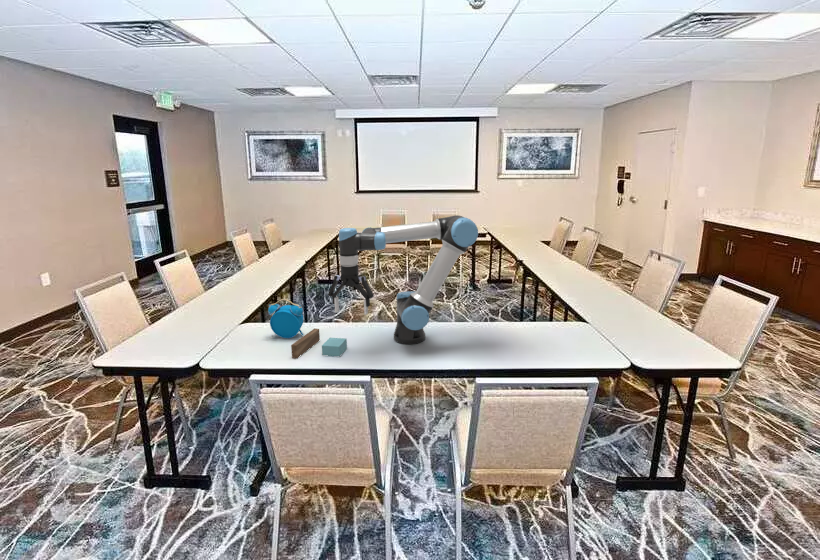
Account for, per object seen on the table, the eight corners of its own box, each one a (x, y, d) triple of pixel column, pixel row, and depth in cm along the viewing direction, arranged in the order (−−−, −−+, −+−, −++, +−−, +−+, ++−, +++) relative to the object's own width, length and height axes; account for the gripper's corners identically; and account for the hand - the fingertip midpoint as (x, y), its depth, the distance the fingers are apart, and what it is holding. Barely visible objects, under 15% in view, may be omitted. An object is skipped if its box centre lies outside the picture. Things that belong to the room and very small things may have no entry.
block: (347, 348, 215) (346, 338, 214) (339, 357, 206) (339, 346, 205) (330, 347, 217) (329, 337, 216) (322, 356, 207) (321, 345, 206)
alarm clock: (308, 333, 234) (305, 295, 230) (301, 341, 224) (299, 301, 220) (275, 333, 236) (272, 294, 231) (267, 340, 226) (264, 300, 221)
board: (319, 340, 225) (319, 328, 223) (297, 358, 204) (296, 345, 203) (315, 340, 226) (314, 328, 224) (292, 358, 205) (291, 345, 204)
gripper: (379, 264, 200) (381, 311, 205) (326, 262, 207) (328, 308, 212) (374, 267, 193) (375, 317, 198) (318, 265, 200) (321, 313, 205)
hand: (351, 312), depth 205 cm, fingers open, 13 cm apart
